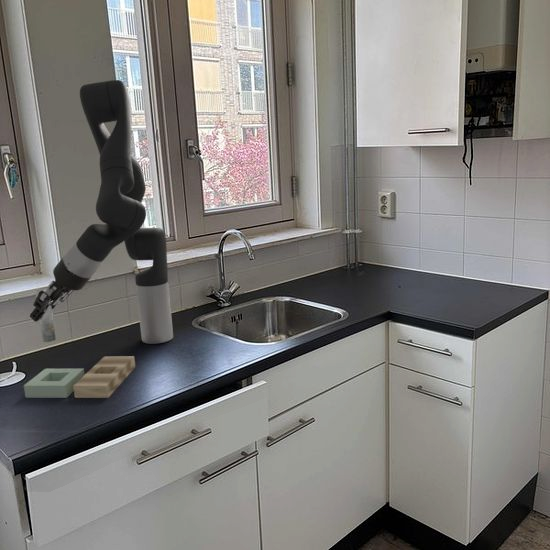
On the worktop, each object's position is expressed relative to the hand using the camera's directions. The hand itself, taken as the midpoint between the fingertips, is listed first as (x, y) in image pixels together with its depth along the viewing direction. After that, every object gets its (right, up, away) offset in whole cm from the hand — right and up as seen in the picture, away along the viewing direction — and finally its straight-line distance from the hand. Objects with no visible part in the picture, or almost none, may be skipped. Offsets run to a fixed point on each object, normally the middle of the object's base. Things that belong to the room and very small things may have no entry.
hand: (38, 316), depth 130 cm
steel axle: (+2, -6, +1) cm, 6 cm away
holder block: (+3, -18, +4) cm, 18 cm away
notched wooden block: (+14, -16, +6) cm, 23 cm away
